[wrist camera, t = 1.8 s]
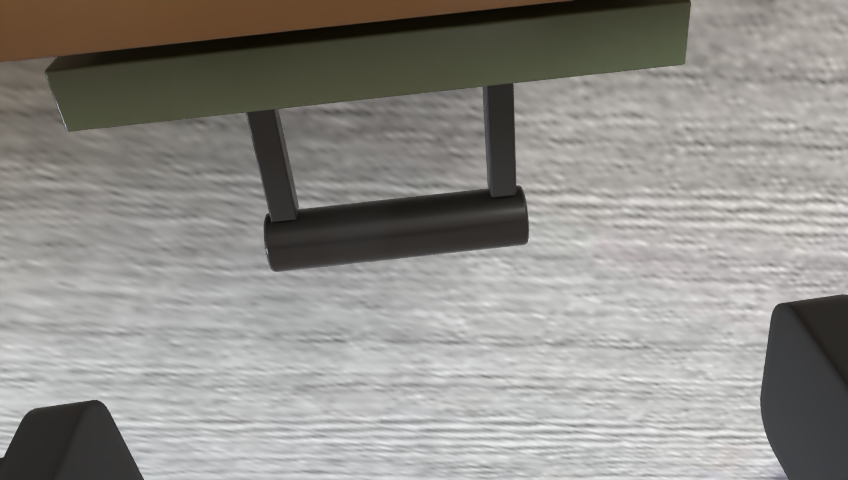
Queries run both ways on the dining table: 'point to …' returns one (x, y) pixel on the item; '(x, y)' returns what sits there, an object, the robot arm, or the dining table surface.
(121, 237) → the dining table surface
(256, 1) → the cabinet
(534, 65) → the drawer
